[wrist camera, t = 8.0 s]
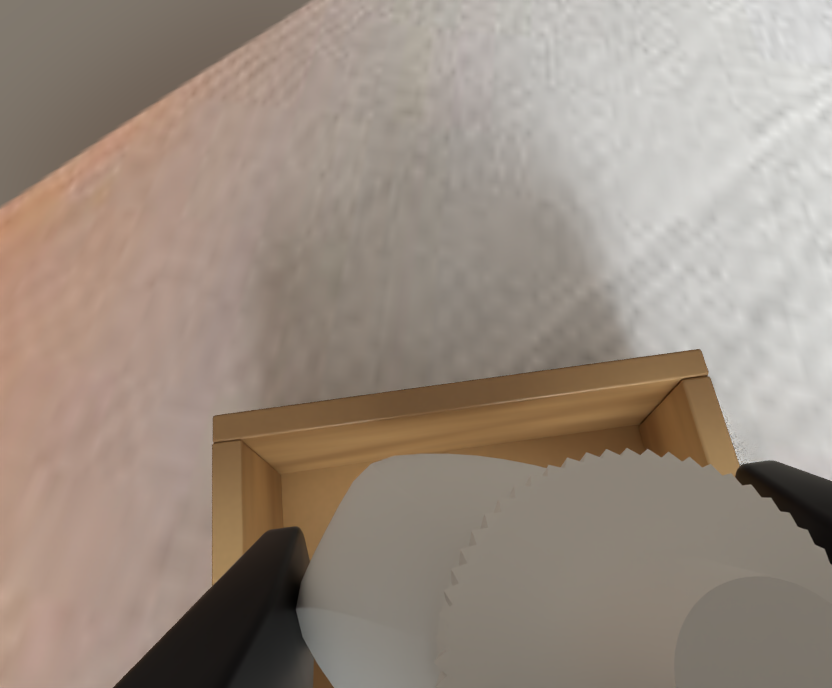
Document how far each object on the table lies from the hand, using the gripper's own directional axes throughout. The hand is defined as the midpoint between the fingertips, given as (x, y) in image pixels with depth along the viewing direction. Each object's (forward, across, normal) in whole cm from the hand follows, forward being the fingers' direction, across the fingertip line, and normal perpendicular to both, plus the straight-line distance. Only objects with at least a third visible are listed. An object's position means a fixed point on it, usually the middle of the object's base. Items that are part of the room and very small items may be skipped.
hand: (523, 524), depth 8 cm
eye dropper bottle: (+4, 0, +6) cm, 7 cm away
